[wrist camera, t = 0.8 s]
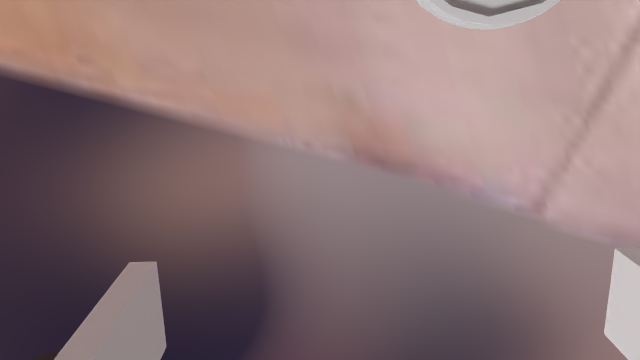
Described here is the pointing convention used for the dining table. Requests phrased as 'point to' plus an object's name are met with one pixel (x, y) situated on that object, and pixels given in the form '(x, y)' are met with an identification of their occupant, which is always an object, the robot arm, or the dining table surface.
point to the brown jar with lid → (486, 11)
